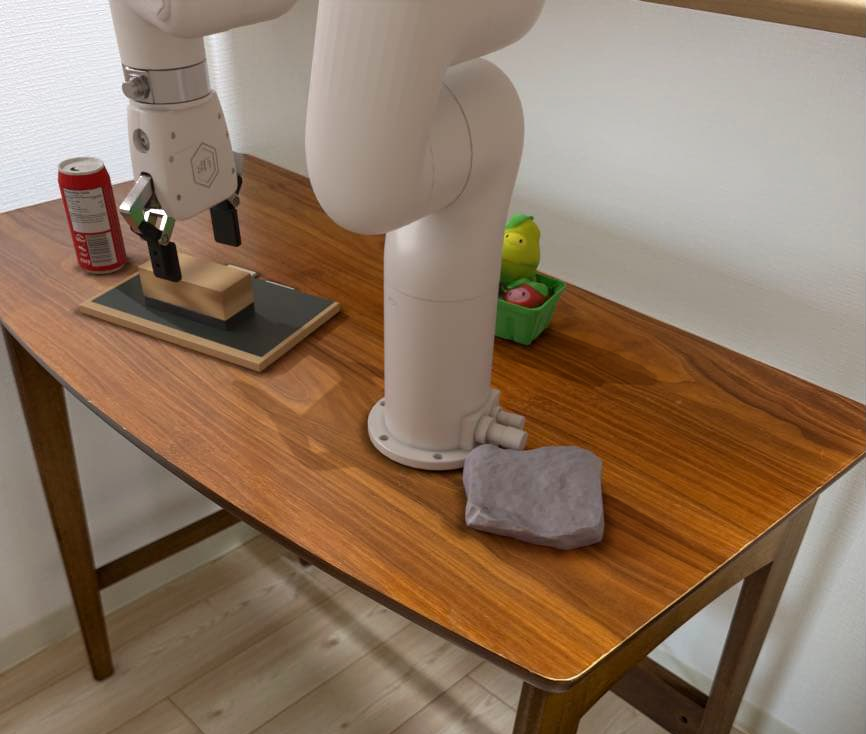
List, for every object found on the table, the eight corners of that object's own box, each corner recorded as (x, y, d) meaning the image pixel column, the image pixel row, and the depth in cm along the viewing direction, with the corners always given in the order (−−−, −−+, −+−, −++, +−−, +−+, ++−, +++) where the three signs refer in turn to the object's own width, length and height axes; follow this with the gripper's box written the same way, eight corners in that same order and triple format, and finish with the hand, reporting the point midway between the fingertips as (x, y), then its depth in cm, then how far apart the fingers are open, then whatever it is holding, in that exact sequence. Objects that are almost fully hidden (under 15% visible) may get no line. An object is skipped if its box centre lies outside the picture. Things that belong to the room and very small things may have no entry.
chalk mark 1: (250, 276, 106) (250, 279, 106) (256, 272, 106) (256, 275, 107) (223, 267, 107) (223, 271, 107) (229, 264, 108) (229, 267, 108)
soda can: (112, 250, 110) (90, 149, 102) (136, 265, 107) (115, 163, 99) (70, 263, 107) (44, 160, 99) (94, 279, 104) (69, 175, 96)
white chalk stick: (294, 291, 104) (294, 288, 104) (288, 296, 103) (288, 292, 103) (266, 283, 106) (266, 280, 105) (260, 287, 105) (260, 284, 104)
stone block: (606, 566, 74) (596, 473, 80) (614, 531, 70) (604, 436, 76) (461, 563, 74) (462, 471, 80) (461, 528, 70) (463, 434, 76)
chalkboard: (340, 310, 101) (339, 302, 100) (260, 372, 91) (259, 364, 90) (171, 260, 109) (169, 252, 108) (80, 312, 99) (78, 304, 98)
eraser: (255, 311, 98) (250, 272, 95) (226, 331, 95) (221, 291, 92) (175, 287, 102) (168, 248, 99) (145, 305, 98) (137, 266, 95)
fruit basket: (439, 325, 99) (443, 225, 92) (478, 294, 105) (484, 197, 97) (532, 355, 95) (545, 253, 87) (567, 321, 101) (581, 222, 93)
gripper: (134, 112, 76) (172, 302, 87) (257, 65, 87) (277, 238, 98) (68, 100, 78) (113, 285, 89) (196, 56, 90) (222, 225, 101)
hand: (199, 260), depth 94 cm, fingers open, 9 cm apart
